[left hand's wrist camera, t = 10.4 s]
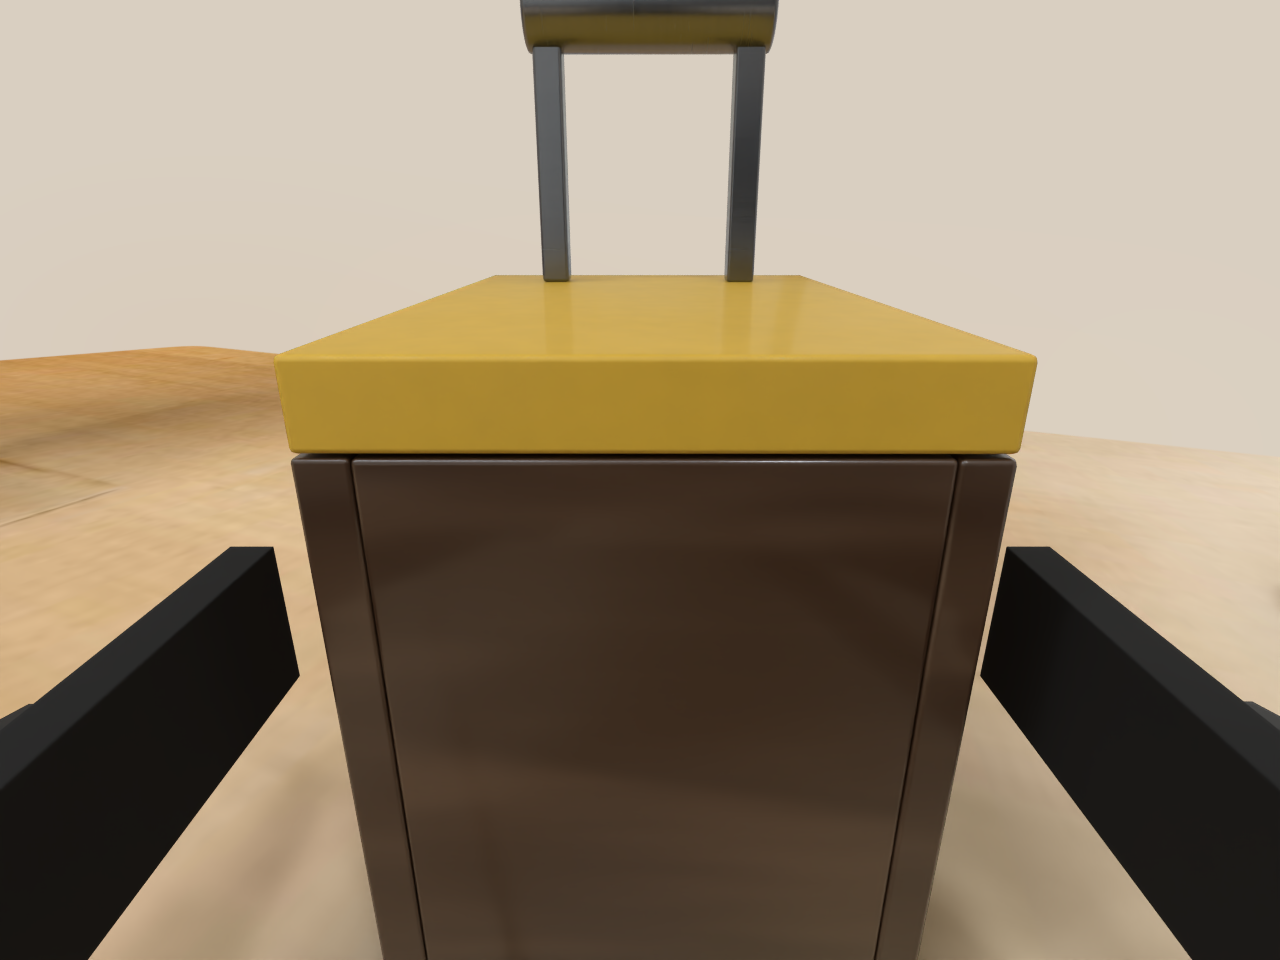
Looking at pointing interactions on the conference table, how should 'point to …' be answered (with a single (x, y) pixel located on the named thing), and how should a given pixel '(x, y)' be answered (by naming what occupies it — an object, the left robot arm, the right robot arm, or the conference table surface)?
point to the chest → (652, 693)
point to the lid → (653, 321)
